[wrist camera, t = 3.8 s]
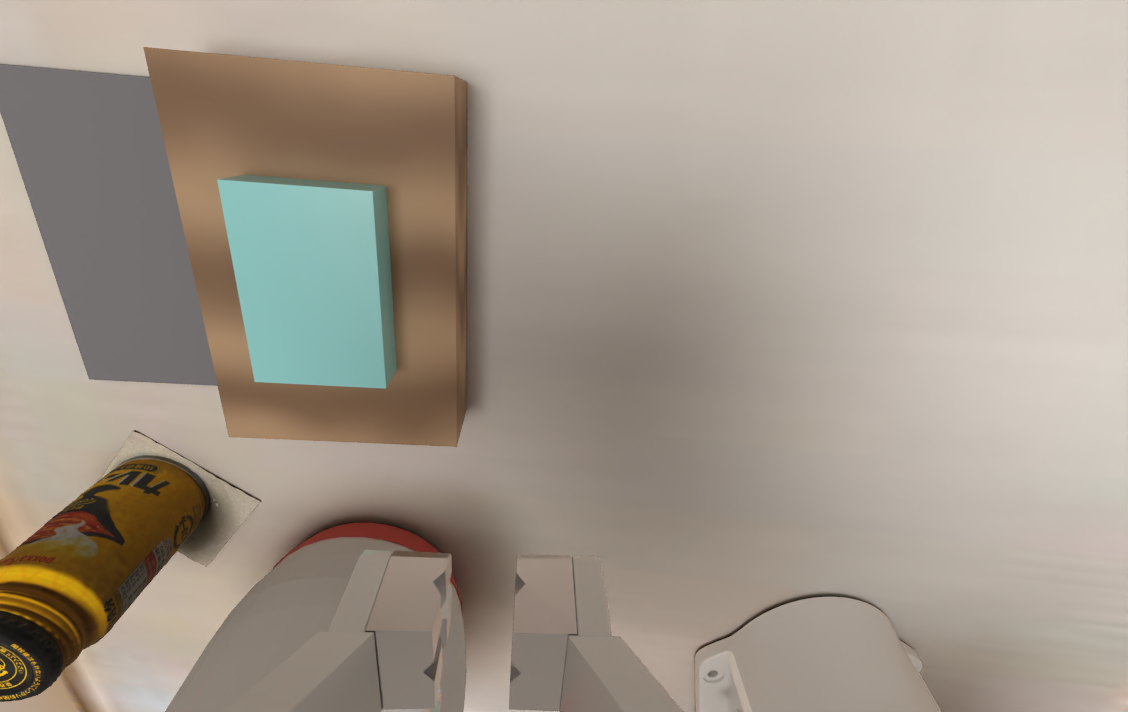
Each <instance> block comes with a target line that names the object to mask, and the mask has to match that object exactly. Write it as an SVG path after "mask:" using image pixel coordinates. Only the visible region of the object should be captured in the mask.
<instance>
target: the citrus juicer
mask: <svg viewBox="0 0 1128 712" xmlns="http://www.w3.org/2000/svg"><path fill="white" fill-rule="evenodd" d="M366 549H367V550H385V551H395V550H396V551H415V552H433V553H439V551H438V550H437V549H436V548H435V547H434V546H432V545H431V544H430V543H428V542H427V541H425V540H424V539H422V538H421V537H419V536H417V535H415V534H413V533H411V532H409V531H406V530H404V529H400V528H397V527H394V526H390V525H385V524H378V523H350V524H344V525H338V526H335V527H332V528H329V529H326V530H323V531H321V532H320V533H318V534H316V535H314V536H313V537H311V538H309V539H308V540H306V541H305V542H303V543H302V544H300V545H299V546H297V547H296V548H295V549H293V550H292V551H291V552H289V553H288V554H287V555H286V556H285V557H283V558H282V559H281V560H280V561H279V562H278V563H277V564H276V565H275V566H274V568H273V570H272V571H270V572H269V573H268V574H267V575H266V576H265V577H264V578H263V579H262V580H260V581H259V582H258V583H257V584H256V585H255V586H254V587H253V588H252V589H251V590H250V591H249V592H248V594H247V595H246V596H245V597H244V598H243V599H242V600H241V601H240V602H239V604H238V605H237V606H236V607H235V608H234V609H233V610H232V611H231V613H230V614H229V615H228V617H227V618H226V620H225V621H224V622H223V624H222V625H221V627H220V628H219V629H218V631H217V632H216V634H215V635H214V636H213V638H212V639H211V641H210V642H209V643H208V645H207V646H206V648H205V650H204V651H203V653H202V654H201V656H200V657H199V659H198V661H197V662H196V664H195V665H194V667H193V668H192V670H191V672H190V673H189V675H188V676H187V678H186V679H185V681H184V683H183V684H182V686H181V687H180V689H179V690H178V692H177V694H176V695H175V697H174V698H173V700H172V701H171V703H170V705H169V706H168V708H167V709H166V711H165V712H222V711H224V710H225V709H226V708H227V707H228V706H230V705H231V704H232V703H233V702H234V701H236V700H237V699H238V698H239V697H240V696H242V695H243V694H244V693H245V692H246V691H248V690H249V689H250V688H251V687H252V686H254V685H255V684H256V683H257V682H258V681H260V680H261V679H262V678H263V677H265V676H266V675H267V674H268V673H269V672H271V671H272V670H273V669H274V668H275V667H277V666H278V665H279V664H280V663H281V662H283V661H284V660H285V659H286V658H287V657H289V656H290V655H291V654H292V653H293V652H295V651H296V650H297V649H298V648H299V647H301V646H302V645H303V644H304V643H305V642H307V641H308V640H309V639H310V638H312V637H313V636H314V635H315V634H316V633H318V632H319V631H329V628H330V626H331V623H332V621H333V619H334V616H335V614H336V612H337V609H338V607H339V604H340V602H341V600H342V597H343V595H344V592H345V590H346V588H347V585H348V583H349V581H350V578H351V576H352V573H353V571H354V569H355V566H356V564H357V561H358V559H359V557H360V556H361V554H362V553H363V552H364V551H365V550H366ZM449 584H450V585H451V587H452V612H451V621H450V629H449V635H448V641H447V645H446V646H445V647H444V648H443V649H442V674H441V680H440V685H439V690H438V696H437V701H436V707H435V709H396V710H382V712H463V709H464V699H465V685H466V672H467V671H466V649H465V631H464V623H463V617H462V602H461V598H460V595H459V591H458V588H457V585H456V582H455V579H454V577H453V574H452V572H451V577H450V583H449Z"/></svg>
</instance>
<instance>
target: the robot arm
mask: <svg viewBox="0 0 1128 712" xmlns="http://www.w3.org/2000/svg"><path fill="white" fill-rule="evenodd" d="M451 572H452V556H451V554H450V553H433V552H415V551H396V550H395V551H385V550H367V549H366V550H365V551H364V552H363V553H362V554H361V556H360V557H359V559H358V561H357V564H356V566H355V569H354V571H353V573H352V576H351V578H350V581H349V583H348V585H347V588H346V590H345V592H344V595H343V597H342V600H341V602H340V604H339V607H338V609H337V612H336V614H335V616H334V619H333V621H332V623H331V626H330V628H329V631H319V632H318V633H316V634H315V635H314V636H313V637H312V638H310V639H309V640H308V641H307V642H305V643H304V644H303V645H302V646H301V647H299V648H298V649H297V650H296V651H295V652H293V653H292V654H291V655H290V656H289V657H287V658H286V659H285V660H284V661H283V662H281V663H280V664H279V665H278V666H277V667H275V668H274V669H273V670H272V671H271V672H269V673H268V674H267V675H266V676H265V677H263V678H262V679H261V680H260V681H258V682H257V683H256V684H255V685H254V686H252V687H251V688H250V689H249V690H248V691H246V692H245V693H244V694H243V695H242V696H240V697H239V698H238V699H237V700H236V701H234V702H233V703H232V704H231V705H230V706H228V707H227V708H226V709H225V710H224V711H222V712H382V710H396V709H435V707H436V701H437V696H438V690H439V685H440V680H441V674H442V649H443V648H444V647H445V646H446V645H447V641H448V635H449V629H450V621H451V612H452V587H451V585H450V584H449V583H450V577H451ZM514 601H515V602H514V617H513V637H512V655H511V676H510V700H509V709H517V710H543V711H560V712H683V711H682V709H681V708H680V707H679V706H678V705H677V704H676V702H675V701H674V700H673V699H672V698H671V696H670V695H669V694H668V693H667V692H666V690H665V689H664V688H663V687H662V686H661V684H660V683H659V682H658V681H657V680H656V678H655V677H654V676H653V675H652V674H651V672H650V671H649V670H648V669H647V668H646V667H645V665H644V664H643V663H642V662H641V661H640V659H639V658H638V657H637V656H636V655H635V653H634V652H633V651H632V650H631V649H630V647H629V646H628V645H627V644H626V643H625V641H624V640H623V639H622V638H621V637H616V636H612V634H611V626H610V619H609V612H608V605H607V598H606V591H605V584H604V577H603V569H602V562H601V559H600V558H599V556H572V557H571V556H561V555H517V567H516V583H515V599H514ZM922 667H923V665H922V662H921V660H920V659H919V657H918V655H917V653H916V652H915V651H914V650H913V649H912V648H911V647H910V646H908V645H907V644H905V643H903V642H902V641H900V640H899V639H898V637H897V634H896V632H895V630H894V628H893V626H892V624H891V622H890V620H889V619H888V618H887V617H886V615H885V614H884V613H882V612H881V611H880V610H879V609H877V608H875V607H874V606H872V605H870V604H868V603H865V602H862V601H859V600H855V599H851V598H844V597H816V598H808V599H803V600H798V601H794V602H791V603H788V604H785V605H782V606H779V607H777V608H774V609H772V610H770V611H768V612H766V613H764V614H762V615H760V616H758V617H757V618H755V619H754V620H752V621H751V622H749V623H748V624H747V625H745V626H744V627H743V628H741V629H740V630H739V631H738V632H736V633H735V634H733V635H732V636H730V637H728V638H725V639H722V640H720V641H717V642H715V643H712V644H710V645H707V646H705V647H703V648H702V649H700V650H699V651H698V652H697V653H696V655H695V706H696V712H941V710H940V708H939V707H938V705H937V703H936V702H935V700H934V698H933V696H932V695H931V693H930V691H929V689H928V688H927V686H926V684H925V682H924V681H923V679H922V677H921V675H920V674H919V673H920V671H921V670H922Z"/></svg>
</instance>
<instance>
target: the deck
mask: <svg viewBox="0 0 1128 712" xmlns="http://www.w3.org/2000/svg"><path fill="white" fill-rule="evenodd" d="M144 52H145V56H146V61H147V65H148V70H149V75H150V79H151V84H152V88H153V93H154V97H155V102H156V107H157V111H158V116H159V120H160V125H161V129H162V134H163V138H164V143H165V148H166V152H167V157H168V161H169V166H170V170H171V175H172V179H173V184H174V189H175V193H176V198H177V202H178V207H179V211H180V216H181V220H182V225H183V230H184V234H185V239H186V243H187V248H188V252H189V257H190V262H191V266H192V271H193V275H194V280H195V284H196V289H197V293H198V298H199V303H200V307H201V312H202V316H203V321H204V325H205V330H206V334H207V339H208V344H209V348H210V353H211V357H212V362H213V366H214V371H215V375H216V380H217V385H218V389H219V394H220V398H221V403H222V407H223V412H224V417H225V421H226V426H227V430H228V435H229V437H243V438H266V439H290V440H313V441H336V442H360V443H383V444H407V445H430V446H454V447H457V444H458V440H459V436H460V432H461V428H462V424H463V420H464V417H465V413H466V325H467V82H466V81H464V80H462V79H460V78H458V77H456V76H451V75H440V74H430V73H419V72H408V71H397V70H386V69H375V68H365V67H354V66H343V65H332V64H321V63H310V62H299V61H289V60H278V59H267V58H256V57H245V56H234V55H224V54H213V53H202V52H191V51H180V50H169V49H159V48H148V47H144ZM239 175H255V176H268V177H281V178H294V179H307V180H320V181H333V182H346V183H359V184H372V185H385V186H386V196H387V213H388V230H389V247H390V264H391V281H392V298H393V315H394V332H395V349H396V366H397V371H396V372H395V374H394V376H393V377H392V379H391V381H390V383H389V384H388V386H387V388H386V389H385V388H365V387H344V386H324V385H304V384H284V383H264V382H255V381H254V376H253V370H252V365H251V359H250V354H249V349H248V343H247V338H246V332H245V327H244V322H243V316H242V311H241V306H240V300H239V295H238V289H237V284H236V279H235V273H234V268H233V262H232V257H231V252H230V246H229V241H228V236H227V230H226V225H225V219H224V214H223V209H222V203H221V198H220V192H219V187H218V182H217V179H222V178H228V177H233V176H239Z"/></svg>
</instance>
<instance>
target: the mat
mask: <svg viewBox="0 0 1128 712" xmlns="http://www.w3.org/2000/svg"><path fill="white" fill-rule="evenodd" d="M0 112H1V115H2V118H3V121H4V124H5V127H6V130H7V133H8V136H9V139H10V142H11V145H12V148H13V151H14V155H15V158H16V161H17V164H18V167H19V170H20V173H21V176H22V179H23V182H24V185H25V188H26V191H27V194H28V197H29V200H30V203H31V206H32V209H33V212H34V215H35V218H36V221H37V224H38V227H39V230H40V233H41V236H42V239H43V242H44V245H45V248H46V251H47V254H48V257H49V260H50V263H51V266H52V269H53V272H54V275H55V278H56V281H57V284H58V287H59V290H60V293H61V296H62V299H63V302H64V305H65V308H66V311H67V314H68V317H69V320H70V323H71V326H72V329H73V332H74V335H75V338H76V341H77V344H78V347H79V350H80V353H81V356H82V359H83V362H84V365H85V368H86V371H87V374H88V377H89V379H94V380H114V381H134V382H155V383H175V384H195V385H216V386H218V385H217V380H216V375H215V371H214V366H213V362H212V357H211V353H210V348H209V344H208V339H207V334H206V330H205V325H204V321H203V316H202V312H201V307H200V303H199V298H198V293H197V289H196V284H195V280H194V275H193V271H192V266H191V262H190V257H189V252H188V248H187V243H186V239H185V234H184V230H183V225H182V220H181V216H180V211H179V207H178V202H177V198H176V193H175V189H174V184H173V179H172V175H171V170H170V166H169V161H168V157H167V152H166V148H165V143H164V138H163V134H162V129H161V125H160V120H159V116H158V111H157V107H156V102H155V97H154V93H153V88H152V84H151V79H150V77H140V76H129V75H117V74H106V73H95V72H84V71H72V70H61V69H50V68H38V67H27V66H16V65H4V64H0Z"/></svg>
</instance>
